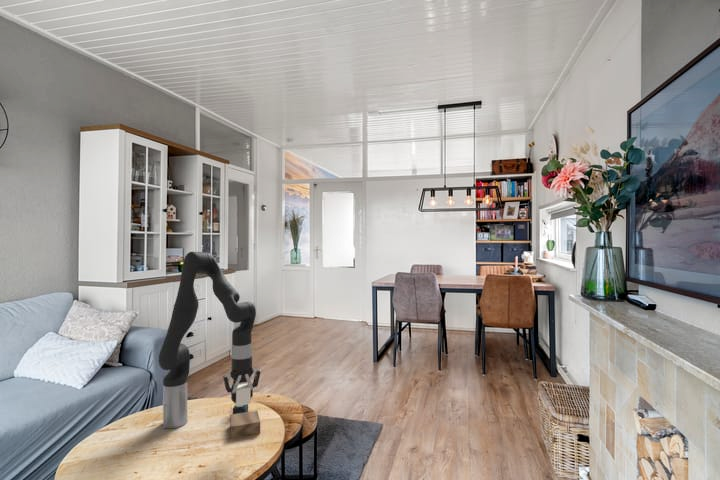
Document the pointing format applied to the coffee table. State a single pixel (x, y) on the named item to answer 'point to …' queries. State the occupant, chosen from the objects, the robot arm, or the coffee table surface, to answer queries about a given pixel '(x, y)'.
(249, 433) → the walnut block
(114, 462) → the coffee table surface
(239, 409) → the watch
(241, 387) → the cream block
